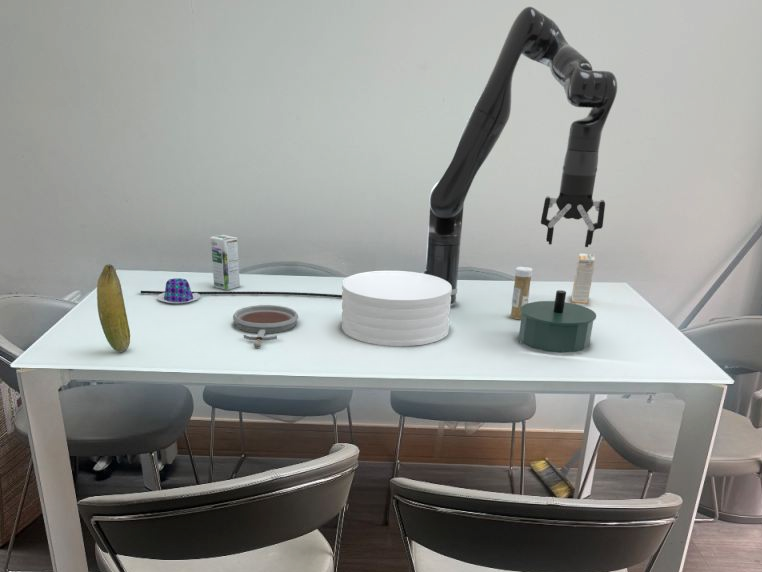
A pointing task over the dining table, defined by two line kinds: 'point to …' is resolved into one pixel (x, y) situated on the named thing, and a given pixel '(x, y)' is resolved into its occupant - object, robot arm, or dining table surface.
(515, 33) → the robot arm
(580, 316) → the pot lid
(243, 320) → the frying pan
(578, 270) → the supplement box
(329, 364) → the dining table surface
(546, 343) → the pot
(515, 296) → the sprinkles bottle
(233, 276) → the syrup box
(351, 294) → the plate stack
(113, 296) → the vegetable
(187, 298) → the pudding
